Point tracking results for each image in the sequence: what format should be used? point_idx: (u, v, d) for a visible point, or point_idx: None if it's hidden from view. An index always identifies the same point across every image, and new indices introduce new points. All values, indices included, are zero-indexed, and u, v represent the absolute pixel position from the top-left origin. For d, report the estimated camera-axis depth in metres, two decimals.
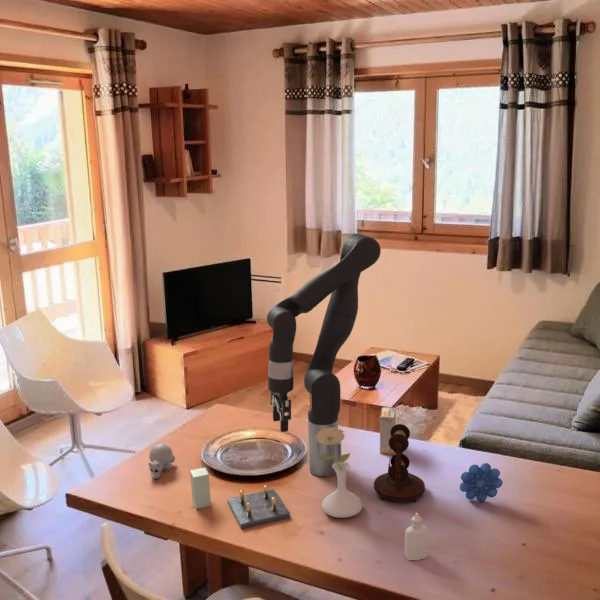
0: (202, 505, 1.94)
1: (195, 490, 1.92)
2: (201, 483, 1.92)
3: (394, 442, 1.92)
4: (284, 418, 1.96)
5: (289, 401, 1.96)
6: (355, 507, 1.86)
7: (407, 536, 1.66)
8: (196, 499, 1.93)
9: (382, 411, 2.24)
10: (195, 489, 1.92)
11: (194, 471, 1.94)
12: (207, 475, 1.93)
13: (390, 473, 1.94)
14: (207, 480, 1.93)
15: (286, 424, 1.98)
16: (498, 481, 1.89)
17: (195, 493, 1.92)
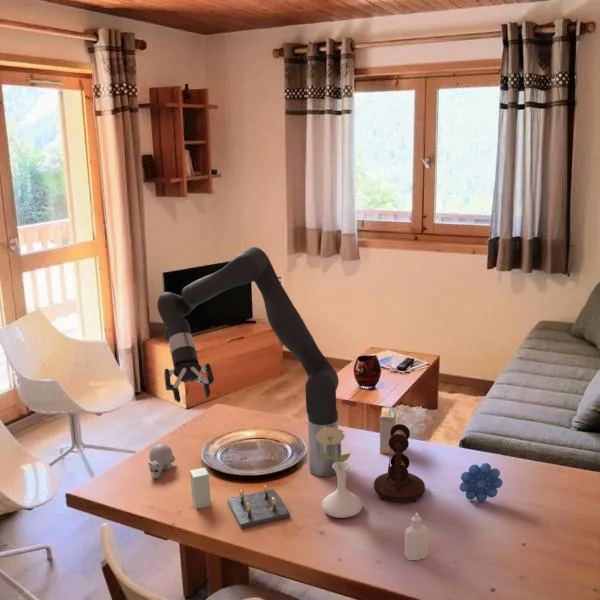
0: (202, 505, 1.94)
1: (195, 490, 1.92)
2: (201, 483, 1.92)
3: (394, 442, 1.92)
4: (166, 387, 2.02)
5: (165, 370, 2.03)
6: (355, 507, 1.86)
7: (407, 536, 1.66)
8: (196, 499, 1.93)
9: (382, 411, 2.24)
10: (195, 489, 1.92)
11: (194, 471, 1.94)
12: (207, 475, 1.92)
13: (390, 473, 1.94)
14: (207, 480, 1.93)
15: (174, 393, 2.00)
16: (498, 481, 1.89)
17: (195, 493, 1.92)
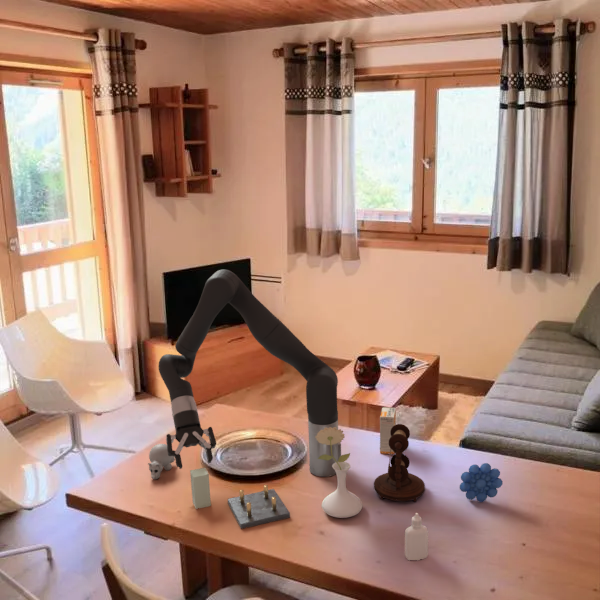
0: (202, 505, 1.94)
1: (195, 490, 1.92)
2: (201, 483, 1.92)
3: (394, 442, 1.92)
4: (168, 453, 1.99)
5: None
6: (355, 507, 1.86)
7: (407, 536, 1.66)
8: (196, 499, 1.93)
9: (382, 411, 2.24)
10: (195, 489, 1.92)
11: (194, 471, 1.94)
12: (207, 475, 1.92)
13: (390, 473, 1.94)
14: (207, 480, 1.93)
15: (176, 459, 1.98)
16: (498, 481, 1.89)
17: (195, 493, 1.92)
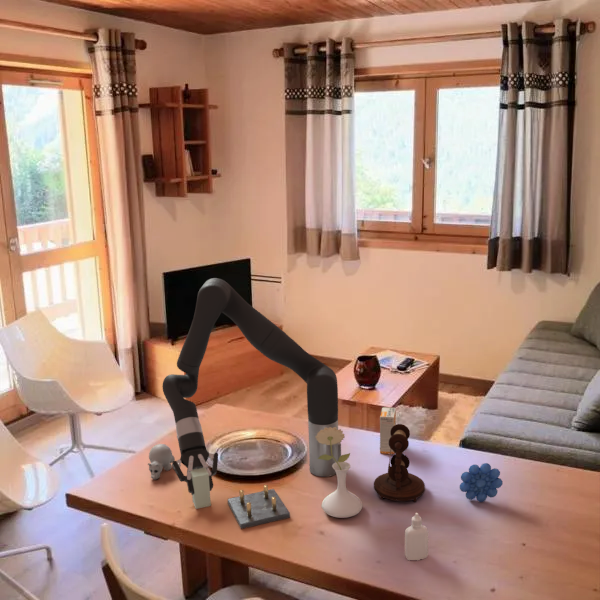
0: (202, 505, 1.94)
1: (195, 490, 1.92)
2: (201, 483, 1.92)
3: (394, 442, 1.92)
4: (179, 479, 1.95)
5: (172, 463, 1.95)
6: (355, 507, 1.86)
7: (407, 536, 1.66)
8: (196, 499, 1.93)
9: (382, 411, 2.24)
10: (195, 489, 1.92)
11: (194, 471, 1.94)
12: (207, 475, 1.92)
13: (390, 473, 1.94)
14: (207, 480, 1.93)
15: (188, 485, 1.93)
16: (498, 481, 1.89)
17: (195, 493, 1.92)
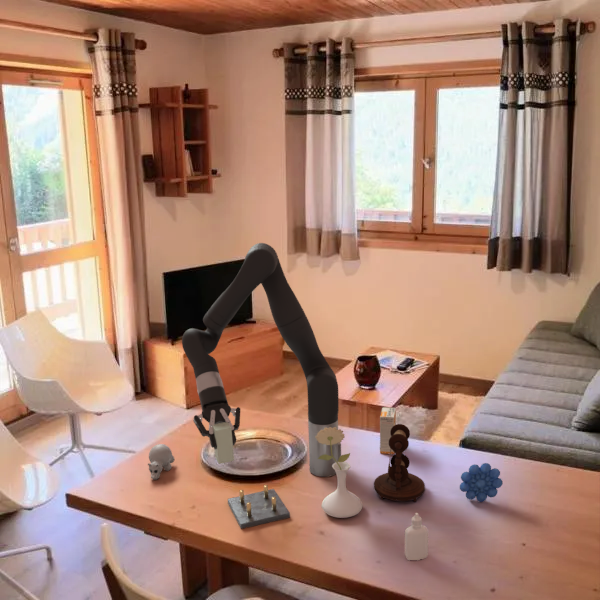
0: (225, 460, 1.88)
1: (218, 444, 1.87)
2: (224, 437, 1.87)
3: (394, 442, 1.92)
4: (201, 433, 1.90)
5: (194, 417, 1.90)
6: (355, 507, 1.86)
7: (407, 536, 1.66)
8: (219, 454, 1.87)
9: (382, 411, 2.24)
10: (218, 443, 1.87)
11: (216, 425, 1.89)
12: (230, 429, 1.87)
13: (390, 473, 1.94)
14: (230, 434, 1.87)
15: (210, 440, 1.88)
16: (498, 481, 1.89)
17: (218, 447, 1.87)
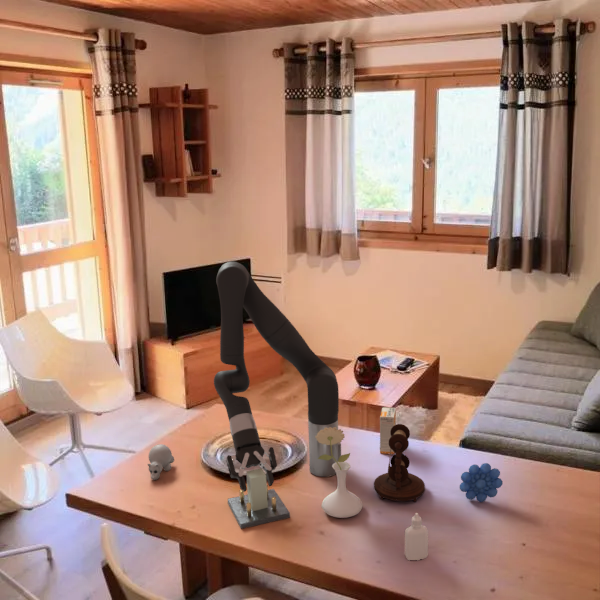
0: (259, 507, 1.89)
1: (252, 492, 1.87)
2: (258, 485, 1.88)
3: (394, 442, 1.92)
4: (230, 475, 1.90)
5: (227, 457, 1.91)
6: (355, 507, 1.86)
7: (407, 536, 1.66)
8: (253, 501, 1.88)
9: (382, 411, 2.24)
10: (252, 491, 1.87)
11: (251, 472, 1.90)
12: (265, 476, 1.88)
13: (390, 473, 1.94)
14: (265, 481, 1.88)
15: (239, 482, 1.88)
16: (498, 481, 1.89)
17: (252, 495, 1.88)
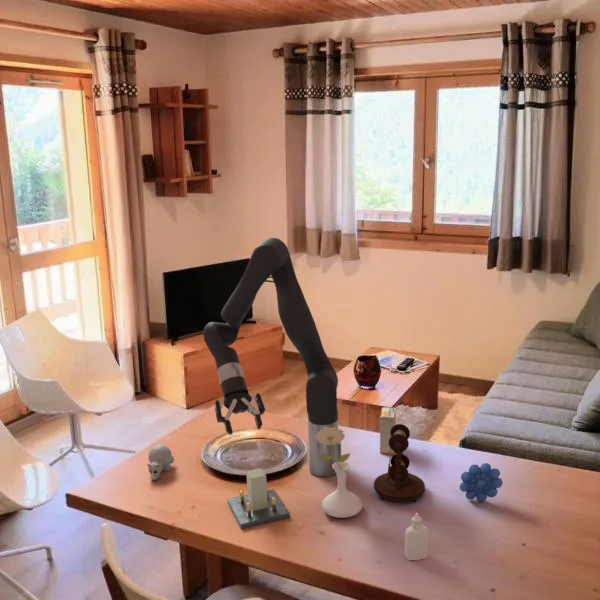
0: (259, 507, 1.89)
1: (252, 492, 1.87)
2: (258, 485, 1.88)
3: (394, 442, 1.92)
4: (217, 420, 1.97)
5: (215, 402, 1.99)
6: (355, 507, 1.86)
7: (407, 536, 1.66)
8: (253, 501, 1.88)
9: (382, 411, 2.24)
10: (252, 491, 1.87)
11: (251, 472, 1.90)
12: (265, 476, 1.88)
13: (390, 473, 1.94)
14: (265, 481, 1.88)
15: (225, 425, 1.96)
16: (498, 481, 1.89)
17: (252, 495, 1.88)
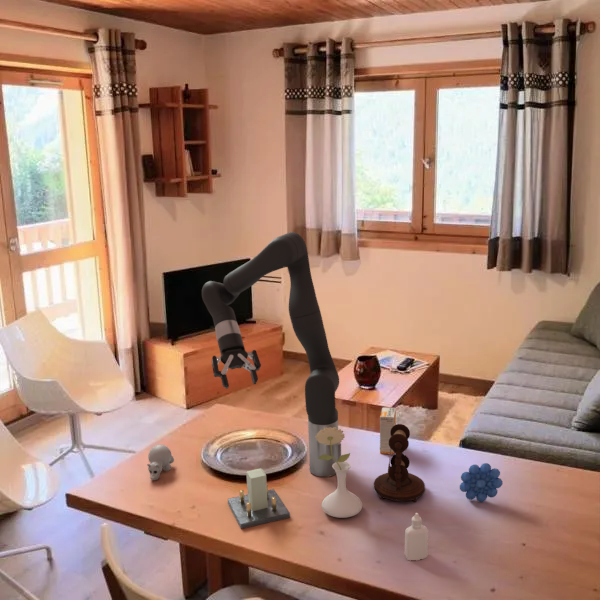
0: (259, 507, 1.89)
1: (252, 492, 1.87)
2: (258, 485, 1.88)
3: (394, 442, 1.92)
4: (214, 374, 2.03)
5: None
6: (355, 507, 1.86)
7: (407, 536, 1.66)
8: (253, 501, 1.88)
9: (382, 411, 2.24)
10: (252, 491, 1.87)
11: (251, 472, 1.90)
12: (265, 476, 1.88)
13: (390, 473, 1.94)
14: (265, 481, 1.88)
15: (222, 379, 2.01)
16: (498, 481, 1.89)
17: (252, 495, 1.88)
